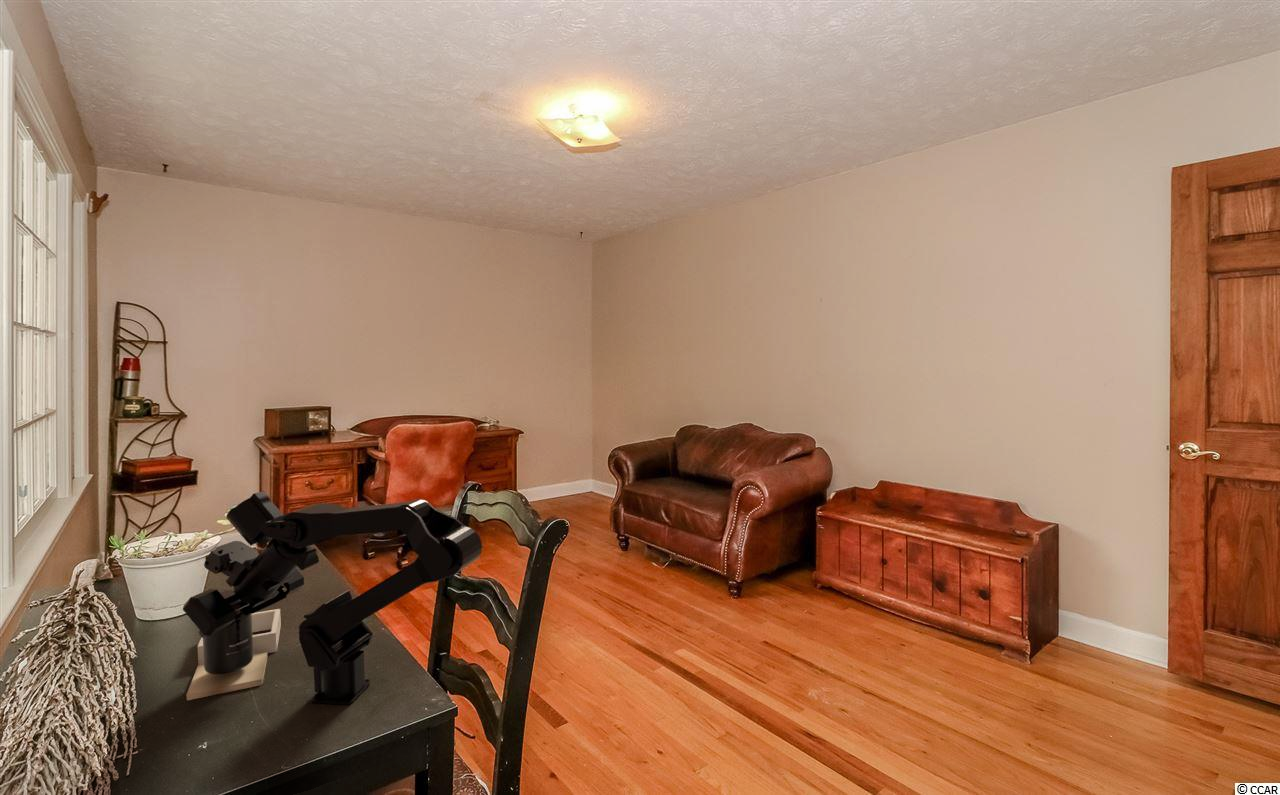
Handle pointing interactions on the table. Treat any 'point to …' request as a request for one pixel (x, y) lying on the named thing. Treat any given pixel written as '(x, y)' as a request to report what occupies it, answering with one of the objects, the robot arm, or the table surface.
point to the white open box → (260, 641)
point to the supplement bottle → (230, 644)
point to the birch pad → (227, 679)
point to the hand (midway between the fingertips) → (220, 625)
